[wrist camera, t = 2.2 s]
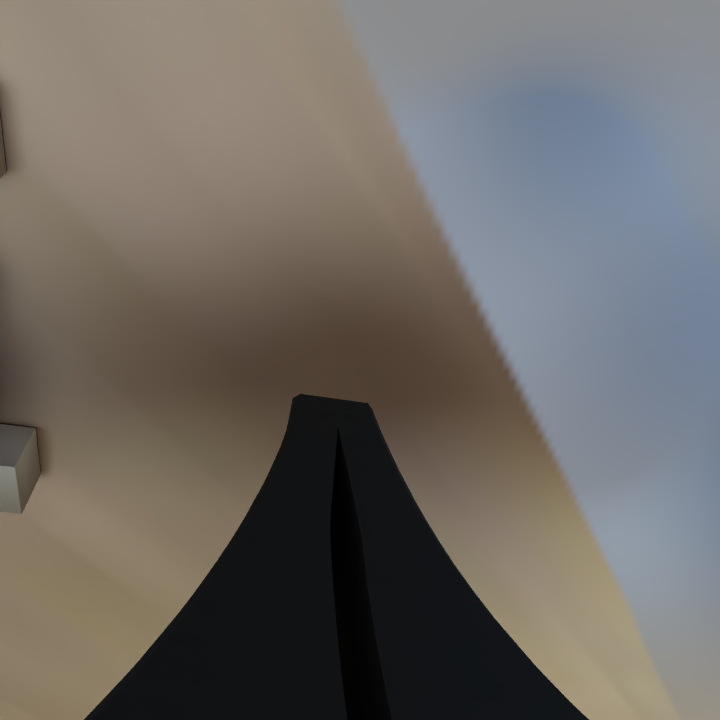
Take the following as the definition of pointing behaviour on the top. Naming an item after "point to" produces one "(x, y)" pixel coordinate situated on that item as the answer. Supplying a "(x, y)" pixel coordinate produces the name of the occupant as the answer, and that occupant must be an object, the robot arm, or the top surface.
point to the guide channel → (16, 447)
